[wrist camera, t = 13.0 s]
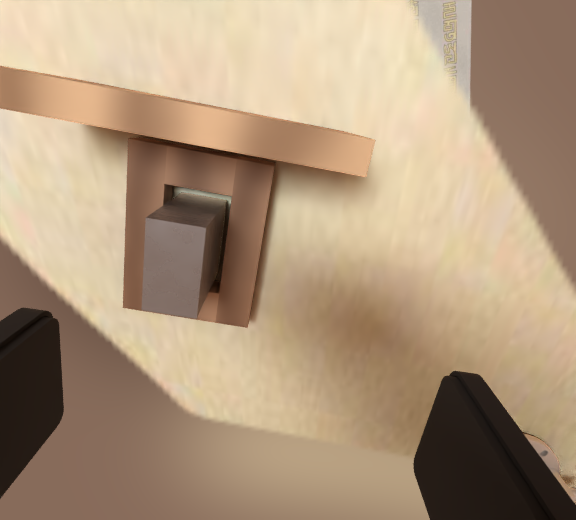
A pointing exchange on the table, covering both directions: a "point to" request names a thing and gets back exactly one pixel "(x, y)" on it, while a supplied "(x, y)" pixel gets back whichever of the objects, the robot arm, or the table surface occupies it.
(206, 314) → the wooden backboard stand
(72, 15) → the table surface
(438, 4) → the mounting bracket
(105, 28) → the table surface
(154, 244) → the tall grey rectangular prism
